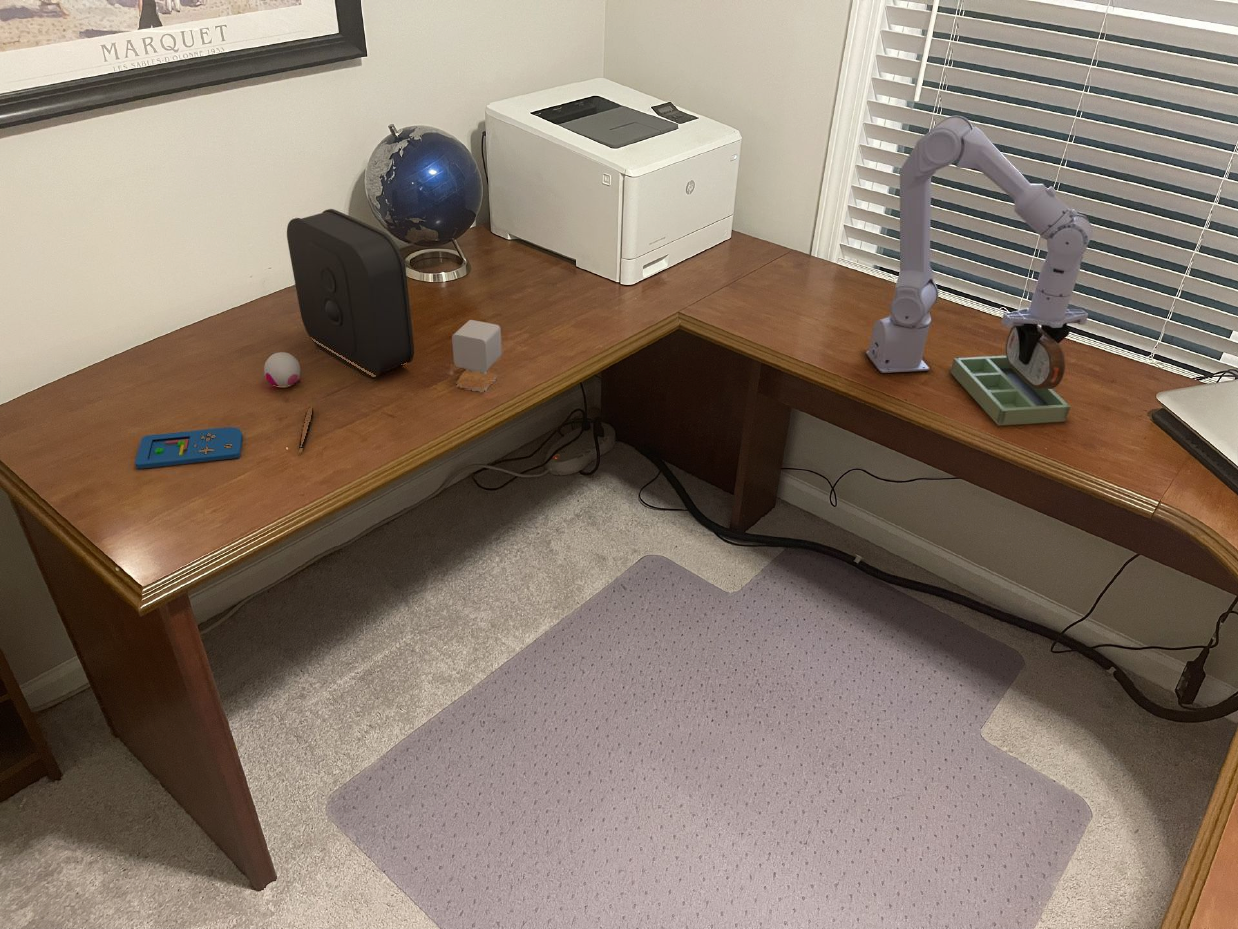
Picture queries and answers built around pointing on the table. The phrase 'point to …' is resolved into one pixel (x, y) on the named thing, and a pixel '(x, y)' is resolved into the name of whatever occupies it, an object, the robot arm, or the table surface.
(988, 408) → the organizer
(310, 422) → the fountain pen
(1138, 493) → the table surface
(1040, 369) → the tin
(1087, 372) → the table surface
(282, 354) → the stress ball
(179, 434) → the handheld gaming device
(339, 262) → the speaker
